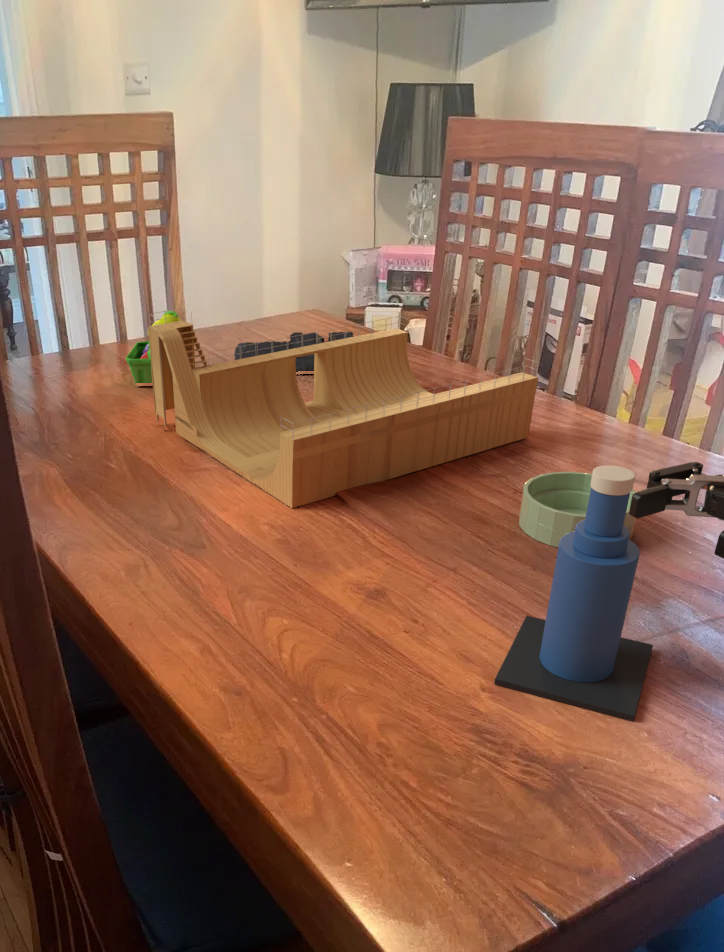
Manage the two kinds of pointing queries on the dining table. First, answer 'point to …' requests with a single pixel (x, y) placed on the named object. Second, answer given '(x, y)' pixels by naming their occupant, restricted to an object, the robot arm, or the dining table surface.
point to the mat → (602, 696)
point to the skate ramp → (329, 412)
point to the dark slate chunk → (288, 347)
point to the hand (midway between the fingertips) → (674, 525)
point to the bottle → (592, 584)
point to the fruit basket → (146, 354)
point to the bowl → (558, 505)
